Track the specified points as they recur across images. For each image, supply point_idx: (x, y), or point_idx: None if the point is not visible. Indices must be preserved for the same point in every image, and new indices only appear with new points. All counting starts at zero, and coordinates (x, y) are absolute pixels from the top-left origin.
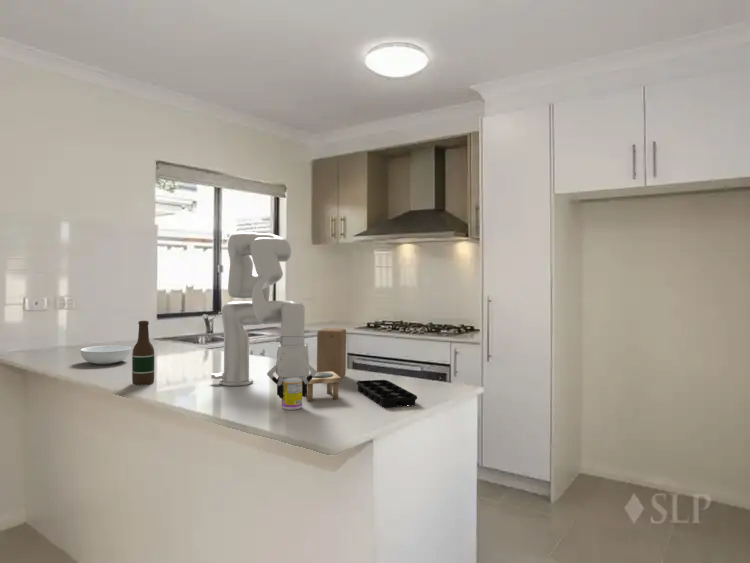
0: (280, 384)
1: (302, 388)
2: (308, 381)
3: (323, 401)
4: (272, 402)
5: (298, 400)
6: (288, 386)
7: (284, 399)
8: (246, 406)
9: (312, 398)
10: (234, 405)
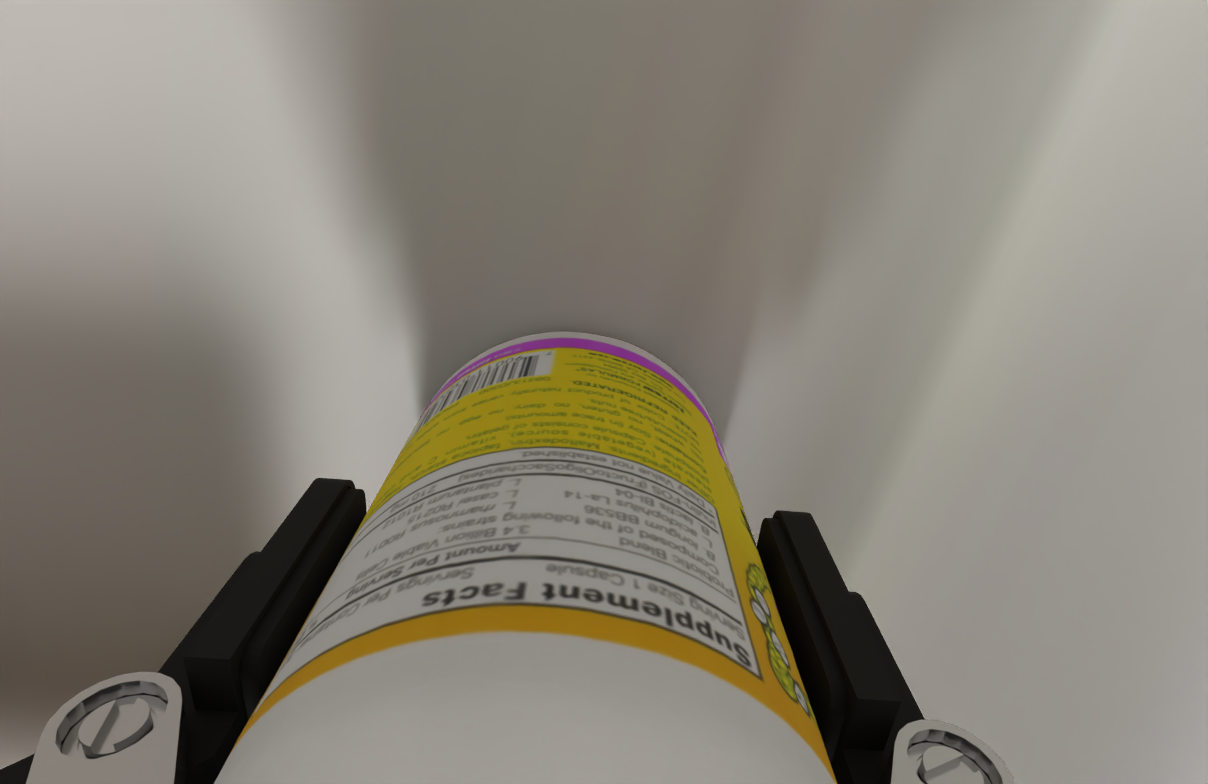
0: (906, 753)
1: None
2: (36, 768)
3: (90, 612)
4: None
5: (479, 390)
6: (713, 599)
7: (729, 475)
8: (1073, 690)
9: None
10: (1167, 760)
